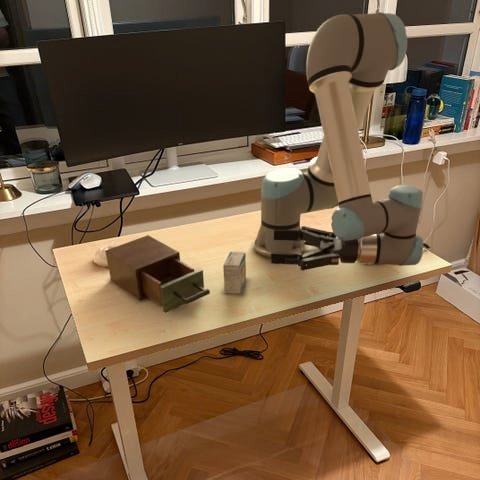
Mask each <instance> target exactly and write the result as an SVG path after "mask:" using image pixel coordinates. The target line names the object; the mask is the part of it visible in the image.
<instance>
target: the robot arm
mask: <svg viewBox="0 0 480 480" xmlns="http://www.w3.org/2000/svg"><path fill="white" fill-rule="evenodd" d="M407 50H408V35H407V30H406V26H405V24H404V22H403V21H402V19H401V18H400V17H399V16H398V15H397V14H395V13H391V12H390V13H387V12H386V13H384V12H382V11H378V12H376V13H358V14H346V13H345V14H338V15H335V16H332V17H331V18H328V19H327V20H326V21H324V22H323V23H322V24H321V25H320V26H319V27H318V28H317V30H316V31H315V33H314V35H313V37H312V39H311V41H310V44H309V47H308V50H307V55H306V65H305V66H306V67H305V68H306V70H305V71H306V73H305V74H306V80H307V84H308V89H309V91H310V92H311V93H313V94H314V96H315V100H316V105H317V110H318V114H319V119H320V124H321V128H322V133H323V137H322V139H321V143H320V146H319V149H318V153H317V156H316V157H314V158H312V159H311V160H310V162H309V164H308V167H307V170H306V171H304V172H302V171H301V170H300V169H298V168H294V167H289V168H286V167H283V168H277V169H274V170H272V171H269V172H268V173H266V174H265V176H264V177H263V178H262V181H261V189H260V197H261V198H260V201H261V202H260V203H261V204H260V225H259V229H258V232H257V234H256V236H255V238H254V250H255V252H256V253H257V254H259V255H261V256H262V257H265V258H268V259H270V264H271V265H289V266H291V265H292V266H293V265H294V266H297V267H300V270H301V271H307V270H312V269H317V268H322V267H327V266H338V265H339V263H341V264H352V265H353V264H355V263H357V264H361V265H366V266H368V265H385V266H387V265H388V266H390V265H391V266H399V267H402V266H417V265H418V264H419V263H420V262H421V261H422V258H423V253H424V248H426V249H431V247H430V246H429V244H428V243H425V242H424V239H423V237H422V236H421V235H419V234H417V229H418V224H419V219H420V216H421V215H420V214H421V211H422V210H423V209H422V206H423V197H424V193H423V191H422V190H421V189H420V188H419V187H417V186H413V185H409V184H398V185H395V186H393V187H392V188H390V190H389V194H388V197H387V198H384V199H379V200H375V201H373V197H372V192H371V187H370V183H369V177H368V173H367V168H366V163H365V158H364V153H363V147H362V143H361V138H360V137H361V136H360V133H359V132H360V129H361V126H362V123H363V121H364V119H365V116H366V114H367V110H368V107H369V105H370V103H371V100H372V97H373V94H374V92H375V90H376V89H379V88H380V87H382V86H383V85H384V83H385V80H386V77H387V76H388V73H389V71H394V70H396V69H397V68H398V67H400V66H401V65H402V63H403V62H404V60H405V58H406V55H407ZM337 207H338V208H337ZM334 208H336V209H334ZM330 209H334V211H333V212H332V213H331V214H332V215H331V230H332V231H328V230H323V229H318V228H314V227H309V226H306V225H303V226H301V215H303V214H308V213H313V212H318V211H319V212H320V211H325V210H330ZM380 233H384V234H380ZM305 245H306V246H311V247H315V248H317V249H315V250H311V251H308V252H306V253H304V251H305Z"/></svg>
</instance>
